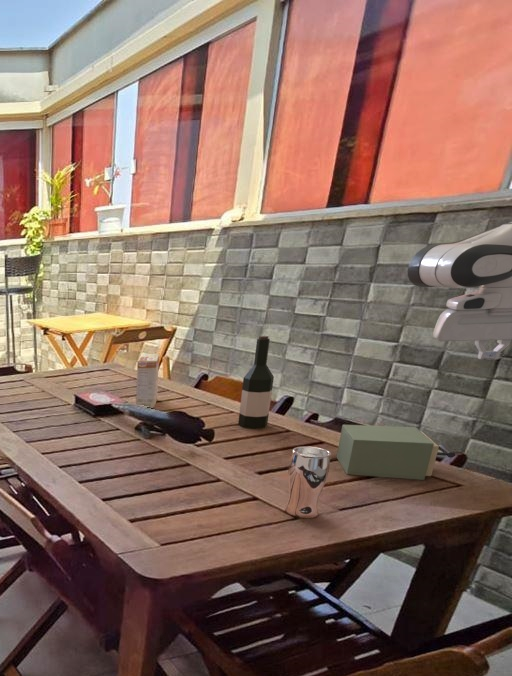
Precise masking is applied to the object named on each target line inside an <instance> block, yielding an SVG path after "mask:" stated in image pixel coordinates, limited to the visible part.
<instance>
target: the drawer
mask: <svg viewBox="0 0 512 676" xmlns="http://www.w3.org/2000/svg"><path fill="white" fill-rule="evenodd" d="M419 431H420V432H422V433H423V434H424V435H425V436H426V437H427V438H428V439H429V440H431V441H432V442H433V443H434V445H433V449H432V453H431V457H430V460H429V464H428V468H427V472H426V476H425V477H432V474H433V471H434V468H435V463H436V460H437V456H446V457H448V458H455V457H456V452H454V451H453V450H452V449H451V448H450V447H448V446H447V445H446V444H445V443H440V444H437V443H435V441H434V440H433V439H431V438H430V437H429V436H428V435H427V434H426V433H424V431H422V430H419ZM439 450H440V451H439Z"/></svg>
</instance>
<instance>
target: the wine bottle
mask: <svg viewBox="0 0 512 676" xmlns="http://www.w3.org/2000/svg"><path fill="white" fill-rule="evenodd" d="M270 340H271V339H270V338H269V335H259V336H258V338H257V339H256V345H255V353H254V362H253V365H252V367H251V368H250V369H249V370H248V371H247V373H246V374H245V375H244V376H243V381H242V387H241V388H242V389H241V397H240V405H239V412H238V413H239V414H238V423H237V425H238V426H239V425H240V427H241V426H242V428H244V427H245V428H244V429H250V430H251V429H252V430H257V429H265V428H266V427H267V426H268V422H269V415H270V407H271V400H272V393H273V385H274V378H275V376H274V375H273V373H272V371H271V370H270V368H269V366H268V365H267V363H268V355H269V348H270Z"/></svg>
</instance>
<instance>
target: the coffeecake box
mask: <svg viewBox="0 0 512 676" xmlns="http://www.w3.org/2000/svg"><path fill="white" fill-rule="evenodd" d="M136 362H137V365H136V366H137V367H136V369H137V370H136V394H135V396H136V397H135V405H136V404H137V405H144V406H149V407H154V408H155V407H156V403H157V402H158V389H159V367H160V353H141V355H140V356H139V358H138V359H137V361H136Z"/></svg>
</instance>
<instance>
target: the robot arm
mask: <svg viewBox="0 0 512 676" xmlns="http://www.w3.org/2000/svg"><path fill="white" fill-rule="evenodd" d="M407 277H408V280H409V281H410V283H412V285H414V286H416V287H419V288H438V287H439V288H450V289H451V288H454V289H455V288H456V289H457V288H458V289H470V288H475V287H478V290H476V291H473V292H469V293H465V294H463V295H459V296H455V297H452V298H448V299H447V301H446V303H445V304H446V308H447V309H445V310H444V311H442V312H441V313H440V315H439V316H438V319H437V321H436V323H435V326H434V329H433V332H432V337H433V338H434V339H435V340H436V341H439V342H469V341H471V342H474V345H475V347H476V349H477V350H478V354H477V359H478V360H498V359H499V357H500V355H501V353H502V352H503V351H504V350H505V349H506V348H507V347H508V346H510V345H511V342H512V220H511V221H507V222H505V223H503V224H500V225H497V226H495V227H492V228H489V229H487V230H484V231H482V232H479V233H476V234H474V235H471V236H469V237H466V238H463V239H460V240H457V241H453V242H442V243H432V244H429V245H426V246H425V247H423V248H421V249H420V250H419V251H417V252H416V253H415V254H414V255H413V256H412V258H411V259H410V260H409V263H408V265H407ZM489 341H496V343H497V344H498V345H496V347H494V348H493V349H491V350H487V349H486V347H485V346H486V345H488V343H489Z"/></svg>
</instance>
